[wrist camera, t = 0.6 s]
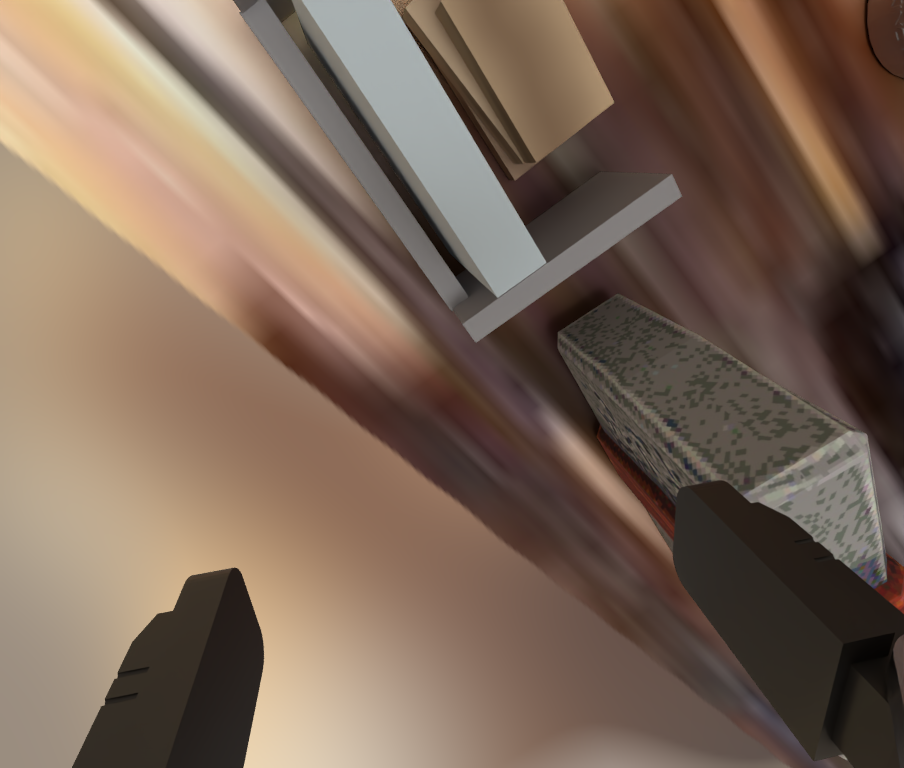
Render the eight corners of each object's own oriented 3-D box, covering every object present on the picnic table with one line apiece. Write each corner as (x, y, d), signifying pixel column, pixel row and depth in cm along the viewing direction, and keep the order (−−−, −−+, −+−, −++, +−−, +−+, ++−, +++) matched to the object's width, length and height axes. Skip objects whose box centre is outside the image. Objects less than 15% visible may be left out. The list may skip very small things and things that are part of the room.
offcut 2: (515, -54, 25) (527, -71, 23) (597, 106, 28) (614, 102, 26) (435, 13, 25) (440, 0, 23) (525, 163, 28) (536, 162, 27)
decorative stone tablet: (727, 529, 18) (859, 823, 32) (905, 422, 17) (957, 770, 32) (529, 325, 35) (674, 578, 49) (616, 269, 34) (736, 541, 49)
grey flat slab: (345, 14, 28) (340, -85, 17) (481, 229, 33) (546, 262, 22) (307, 43, 28) (278, -35, 17) (449, 253, 33) (497, 297, 22)
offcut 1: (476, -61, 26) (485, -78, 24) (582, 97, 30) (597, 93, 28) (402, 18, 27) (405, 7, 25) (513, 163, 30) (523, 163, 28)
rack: (441, -145, 26) (476, -267, 18) (609, 189, 33) (681, 196, 26) (242, 16, 27) (201, -40, 19) (447, 305, 34) (474, 343, 27)
